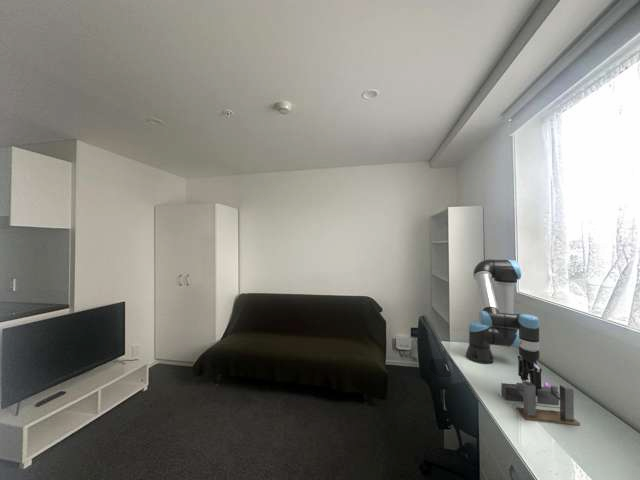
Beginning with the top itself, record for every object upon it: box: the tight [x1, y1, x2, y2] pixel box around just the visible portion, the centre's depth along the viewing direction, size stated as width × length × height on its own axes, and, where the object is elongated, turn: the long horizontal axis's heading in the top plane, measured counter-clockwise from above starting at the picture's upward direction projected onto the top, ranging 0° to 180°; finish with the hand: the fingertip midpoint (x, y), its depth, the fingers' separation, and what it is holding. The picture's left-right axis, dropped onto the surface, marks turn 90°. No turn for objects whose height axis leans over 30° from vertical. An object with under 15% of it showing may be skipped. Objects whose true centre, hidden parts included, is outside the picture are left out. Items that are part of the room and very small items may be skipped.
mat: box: [497, 393, 560, 409], centre depth 121 cm, size 6×24×1 cm, turn 81°
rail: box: [500, 382, 560, 405], centre depth 121 cm, size 4×22×6 cm, turn 81°
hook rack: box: [515, 381, 581, 426], centre depth 112 cm, size 10×20×14 cm, turn 81°
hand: (529, 397), depth 121 cm, fingers open, 5 cm apart
